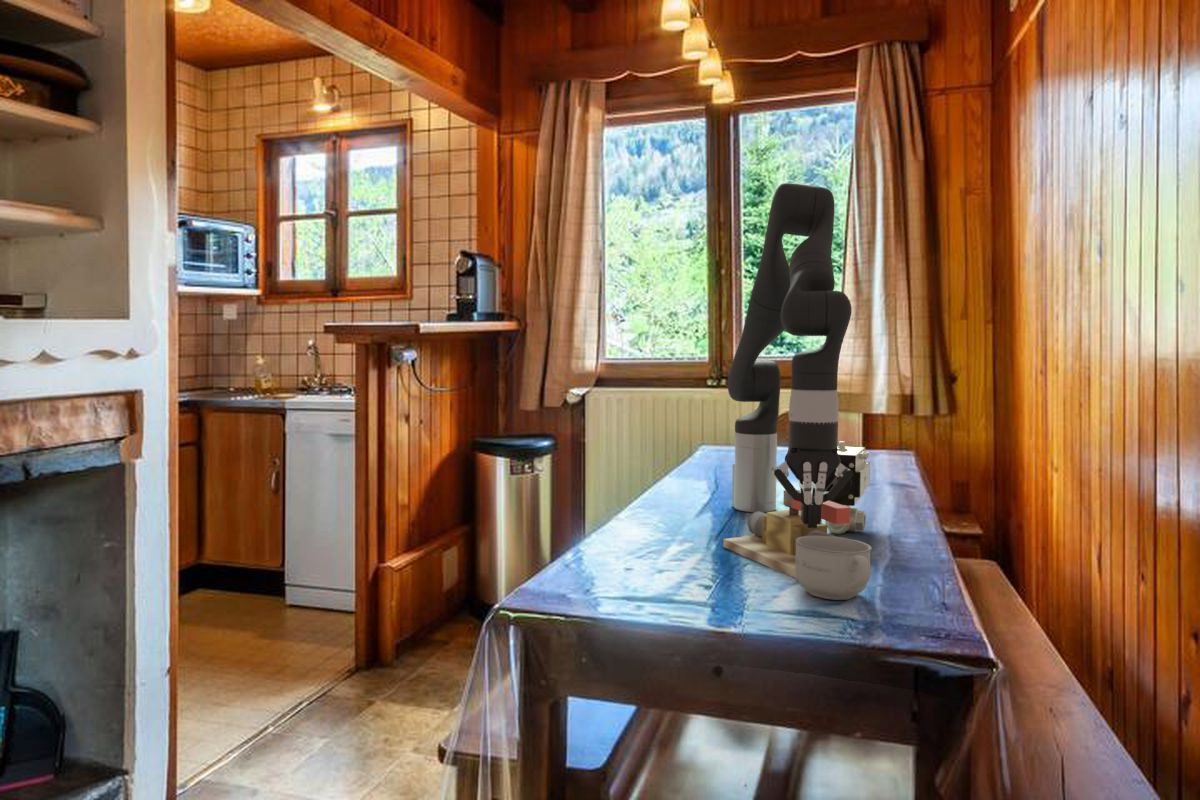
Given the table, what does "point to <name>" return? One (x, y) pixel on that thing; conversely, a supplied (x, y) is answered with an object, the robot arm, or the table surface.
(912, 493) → the table surface
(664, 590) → the table surface
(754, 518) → the valve fixture
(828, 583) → the teacup
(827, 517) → the lever
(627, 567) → the table surface
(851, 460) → the ball valve
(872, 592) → the table surface
